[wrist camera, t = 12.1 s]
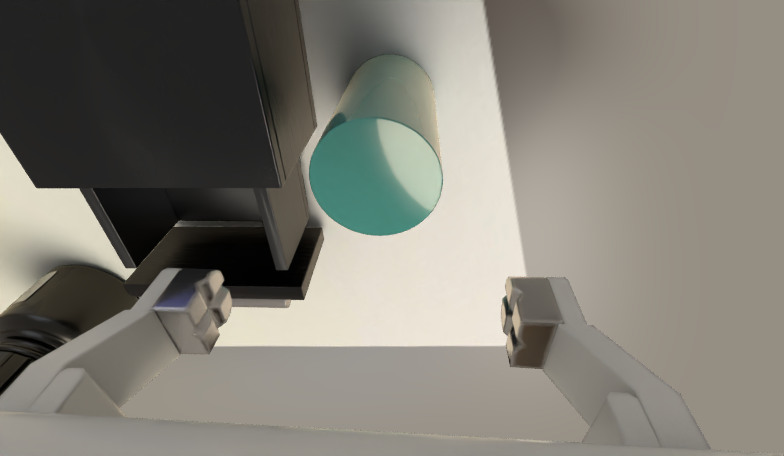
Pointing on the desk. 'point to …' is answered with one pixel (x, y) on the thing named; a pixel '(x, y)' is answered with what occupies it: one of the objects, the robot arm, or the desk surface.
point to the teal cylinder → (380, 150)
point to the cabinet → (155, 92)
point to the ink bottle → (56, 315)
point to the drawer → (215, 237)
